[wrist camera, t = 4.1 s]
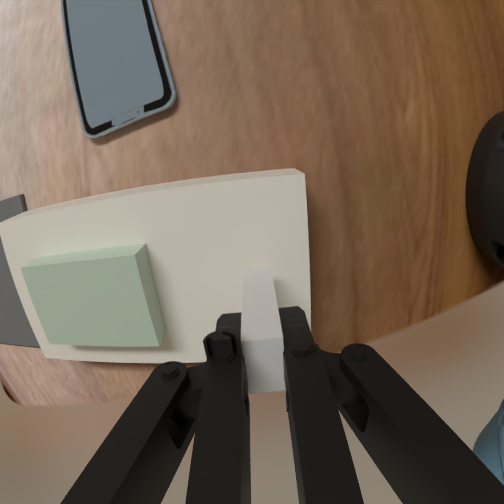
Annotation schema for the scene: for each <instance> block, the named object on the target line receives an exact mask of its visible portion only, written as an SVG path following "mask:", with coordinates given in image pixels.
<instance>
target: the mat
mask: <svg viewBox="0 0 504 504" xmlns="http://www.w3.org/2000/svg"><path fill="white" fill-rule="evenodd" d="M25 211H27V210H26V205H25V200H24V195H23V194H22V195H18V196H15V197H12V198H9V199H6V200H3V201H0V222H2V221H4V220H7V219H9V218H11V217H14V216H16V215H18V214H21V213H23V212H25ZM0 343H5V344H14V345H23V346H34V347H40V345H39V343H38V341H37V339H36V336H35V334H34V332H33V330H32V327H31V325H30V323H29V320H28V318H27V315H26V313H25V310H24V308H23V305H22V303H21V300H20V297H19V295H18V292H17V289H16V286H15V283H14V280H13V277H12V274H11V271H10V268H9V265H8V262H7V258H6V255H5V251H4V248H3V244H2V240H1V236H0Z"/></svg>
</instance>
